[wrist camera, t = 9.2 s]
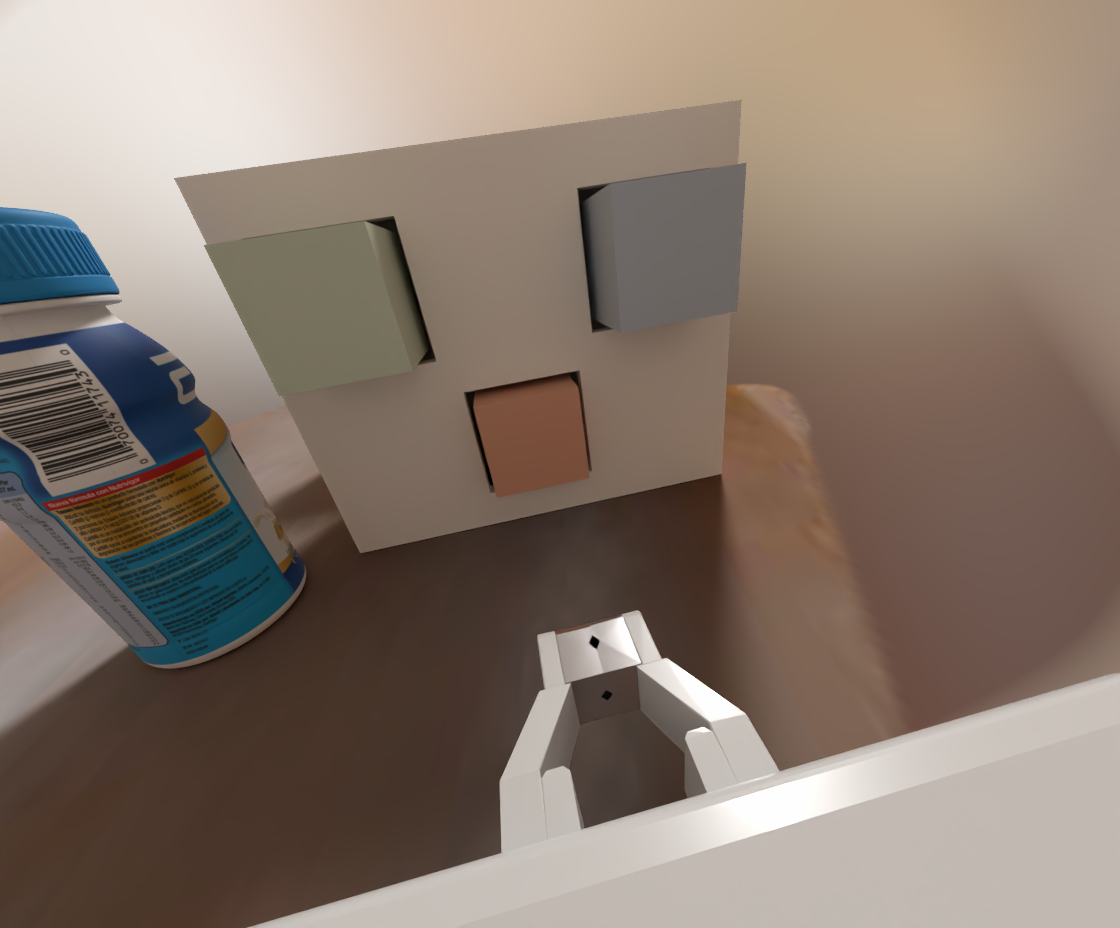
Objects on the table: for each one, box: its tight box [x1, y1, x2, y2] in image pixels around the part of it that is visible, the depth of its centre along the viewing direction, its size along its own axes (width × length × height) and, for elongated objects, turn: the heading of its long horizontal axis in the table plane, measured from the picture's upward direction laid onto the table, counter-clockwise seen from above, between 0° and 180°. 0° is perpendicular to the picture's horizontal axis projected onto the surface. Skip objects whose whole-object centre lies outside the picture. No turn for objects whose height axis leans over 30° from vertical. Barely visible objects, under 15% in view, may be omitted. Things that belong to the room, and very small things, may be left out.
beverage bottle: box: [0, 207, 306, 669], centre depth 19 cm, size 8×8×20 cm
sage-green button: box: [204, 221, 429, 396], centre depth 19 cm, size 6×6×6 cm
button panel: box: [174, 100, 741, 553], centre depth 28 cm, size 26×10×21 cm, turn 100°
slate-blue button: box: [580, 163, 746, 333], centre depth 21 cm, size 6×6×6 cm
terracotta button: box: [473, 373, 590, 498], centre depth 26 cm, size 6×6×6 cm
